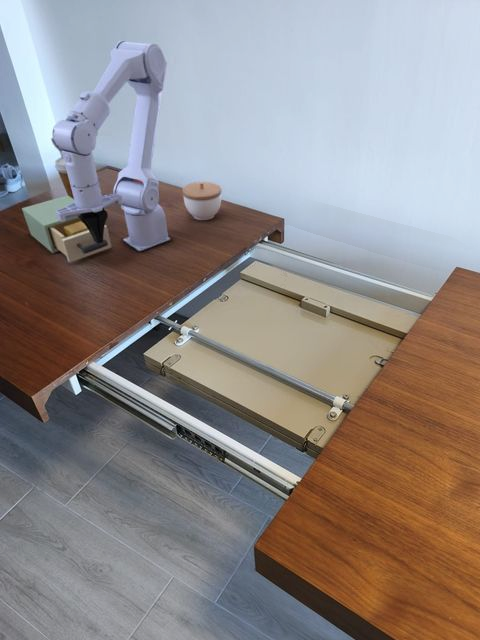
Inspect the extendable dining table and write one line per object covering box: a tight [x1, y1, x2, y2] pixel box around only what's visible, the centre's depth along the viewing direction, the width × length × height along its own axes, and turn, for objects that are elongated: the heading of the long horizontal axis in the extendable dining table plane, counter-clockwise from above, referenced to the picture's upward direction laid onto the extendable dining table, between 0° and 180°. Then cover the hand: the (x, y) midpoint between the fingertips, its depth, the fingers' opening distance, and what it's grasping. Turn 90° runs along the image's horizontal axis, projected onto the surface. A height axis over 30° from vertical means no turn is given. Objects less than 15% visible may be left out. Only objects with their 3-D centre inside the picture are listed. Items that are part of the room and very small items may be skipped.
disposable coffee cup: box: [54, 157, 74, 199], centre depth 138 cm, size 10×10×12 cm
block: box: [64, 221, 88, 237], centre depth 116 cm, size 4×4×4 cm
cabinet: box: [21, 194, 79, 254], centre depth 122 cm, size 13×12×7 cm
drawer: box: [48, 218, 112, 263], centre depth 116 cm, size 17×11×6 cm
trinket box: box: [181, 181, 222, 221], centre depth 132 cm, size 11×11×9 cm
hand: (98, 241), depth 108 cm, fingers closed
